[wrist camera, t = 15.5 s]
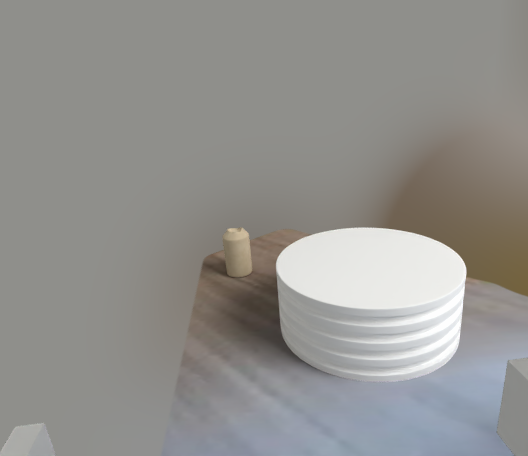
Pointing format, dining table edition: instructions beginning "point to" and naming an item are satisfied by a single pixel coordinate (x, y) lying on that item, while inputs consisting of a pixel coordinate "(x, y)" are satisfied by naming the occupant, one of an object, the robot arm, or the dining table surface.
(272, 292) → the dining table surface
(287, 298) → the plate stack
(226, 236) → the candle
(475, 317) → the dining table surface
